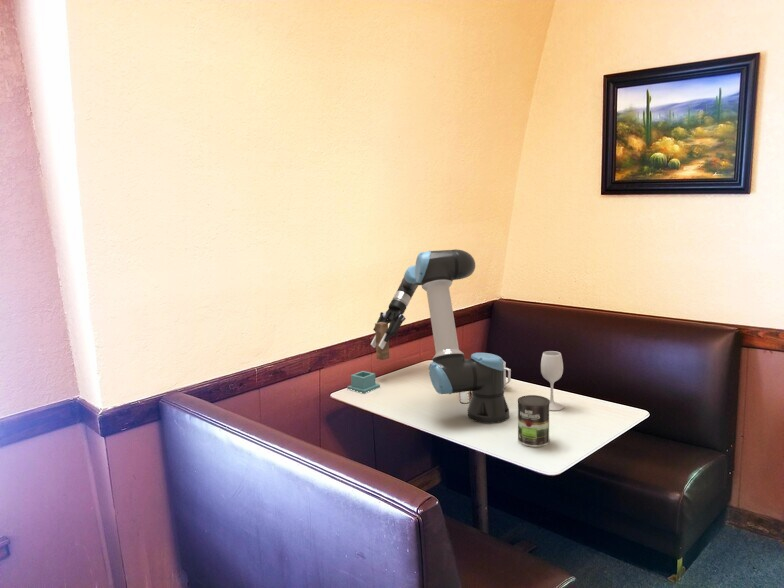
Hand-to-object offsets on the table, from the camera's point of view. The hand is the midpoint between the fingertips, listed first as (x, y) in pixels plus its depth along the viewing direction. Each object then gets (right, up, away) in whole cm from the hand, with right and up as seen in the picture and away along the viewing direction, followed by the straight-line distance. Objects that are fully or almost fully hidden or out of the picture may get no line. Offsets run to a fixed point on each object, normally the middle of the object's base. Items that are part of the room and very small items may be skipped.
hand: (376, 346), depth 263 cm
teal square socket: (-5, -18, -3) cm, 19 cm away
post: (+3, -6, +4) cm, 7 cm away
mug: (+51, -17, -11) cm, 55 cm away
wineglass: (+68, -20, -34) cm, 78 cm away
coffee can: (+54, -26, -63) cm, 87 cm away
